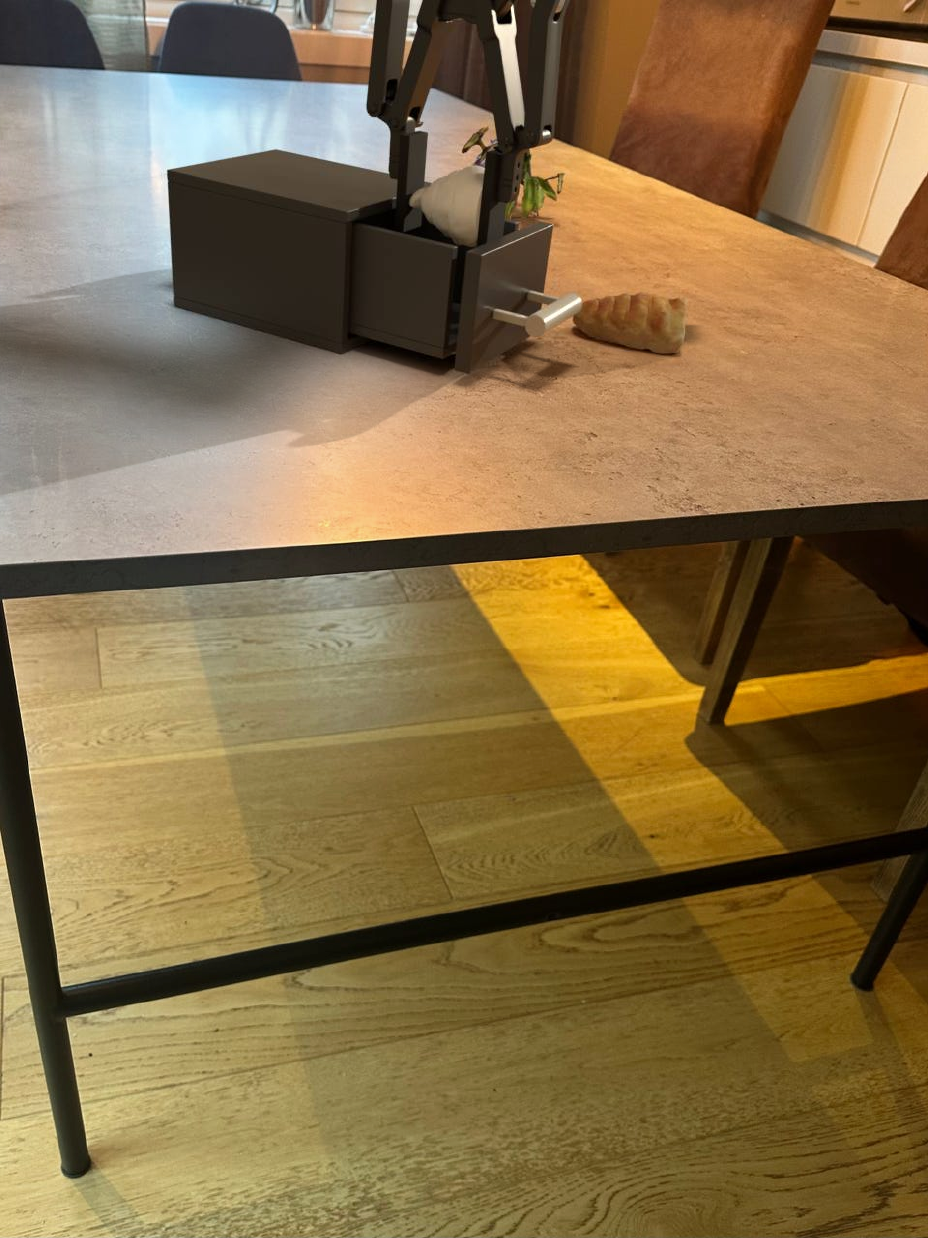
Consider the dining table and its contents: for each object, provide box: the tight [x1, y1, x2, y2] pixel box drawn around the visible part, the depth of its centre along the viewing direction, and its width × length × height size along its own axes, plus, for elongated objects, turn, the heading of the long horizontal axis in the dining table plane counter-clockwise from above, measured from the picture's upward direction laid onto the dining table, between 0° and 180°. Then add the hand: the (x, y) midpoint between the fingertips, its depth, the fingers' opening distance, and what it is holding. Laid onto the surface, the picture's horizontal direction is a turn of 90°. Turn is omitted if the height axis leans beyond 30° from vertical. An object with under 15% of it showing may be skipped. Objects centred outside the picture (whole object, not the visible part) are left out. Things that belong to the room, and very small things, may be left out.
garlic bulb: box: [409, 165, 485, 247], centre depth 75 cm, size 6×6×5 cm
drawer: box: [348, 208, 583, 375], centre depth 78 cm, size 19×12×8 cm, turn 63°
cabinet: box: [166, 148, 433, 354], centre depth 82 cm, size 16×14×10 cm
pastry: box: [572, 291, 688, 354], centre depth 86 cm, size 9×7×4 cm
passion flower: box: [461, 125, 566, 220], centre depth 119 cm, size 11×11×12 cm
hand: (447, 236), depth 77 cm, fingers closed on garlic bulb, 6 cm apart
